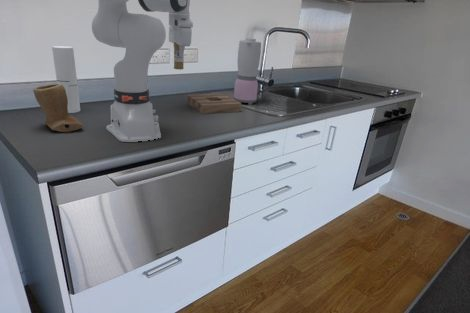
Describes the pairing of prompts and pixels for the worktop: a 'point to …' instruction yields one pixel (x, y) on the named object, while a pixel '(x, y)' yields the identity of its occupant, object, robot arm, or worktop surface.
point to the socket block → (213, 103)
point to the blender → (247, 71)
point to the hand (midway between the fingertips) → (178, 54)
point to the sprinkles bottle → (177, 57)
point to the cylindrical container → (67, 75)
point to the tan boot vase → (56, 107)
